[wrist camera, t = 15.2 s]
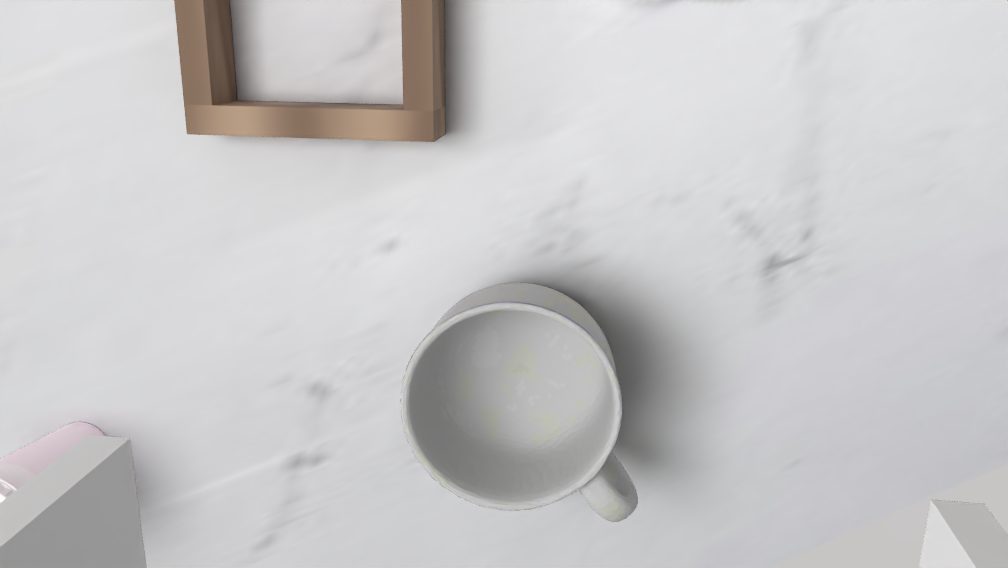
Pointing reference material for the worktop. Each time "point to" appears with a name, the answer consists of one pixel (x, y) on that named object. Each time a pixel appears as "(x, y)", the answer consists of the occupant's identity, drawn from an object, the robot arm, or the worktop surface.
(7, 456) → the smoothie
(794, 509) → the worktop surface
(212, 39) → the pocket frame
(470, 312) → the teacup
